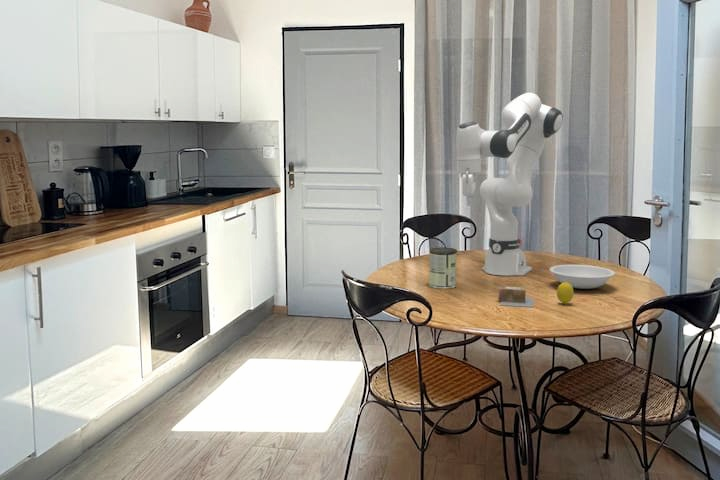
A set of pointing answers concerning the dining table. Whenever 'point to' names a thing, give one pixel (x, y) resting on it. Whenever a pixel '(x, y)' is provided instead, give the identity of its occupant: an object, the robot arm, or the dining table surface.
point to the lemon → (565, 292)
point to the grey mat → (527, 303)
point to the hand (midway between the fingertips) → (469, 205)
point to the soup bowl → (582, 275)
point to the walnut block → (512, 294)
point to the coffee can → (442, 268)
